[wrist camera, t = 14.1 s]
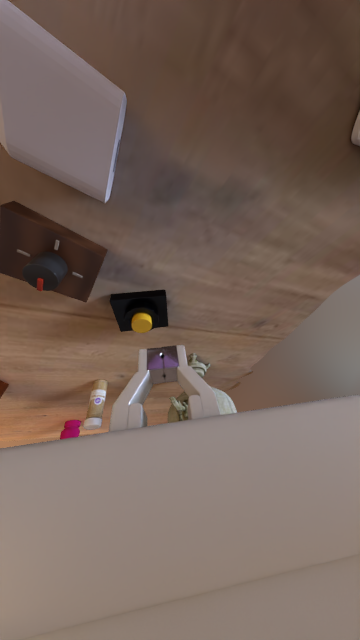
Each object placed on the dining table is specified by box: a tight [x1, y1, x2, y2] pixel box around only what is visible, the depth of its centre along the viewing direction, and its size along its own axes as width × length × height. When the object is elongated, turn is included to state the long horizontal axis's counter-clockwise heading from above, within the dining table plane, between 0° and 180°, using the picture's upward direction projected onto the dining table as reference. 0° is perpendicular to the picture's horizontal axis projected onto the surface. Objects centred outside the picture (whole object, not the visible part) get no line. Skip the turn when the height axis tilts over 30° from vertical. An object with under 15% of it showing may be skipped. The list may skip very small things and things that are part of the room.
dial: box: [22, 252, 68, 291], centre depth 23 cm, size 4×4×4 cm
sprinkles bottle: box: [84, 380, 108, 430], centre depth 52 cm, size 5×5×13 cm
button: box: [132, 312, 152, 333], centre depth 34 cm, size 4×4×2 cm
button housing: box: [110, 290, 168, 332], centre depth 36 cm, size 11×9×4 cm
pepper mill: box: [60, 420, 81, 439], centre depth 70 cm, size 7×7×20 cm
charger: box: [0, 0, 127, 203], centre depth 16 cm, size 5×9×15 cm
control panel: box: [0, 201, 107, 302], centre depth 26 cm, size 12×10×3 cm
